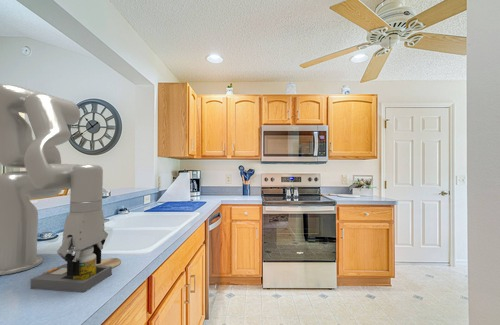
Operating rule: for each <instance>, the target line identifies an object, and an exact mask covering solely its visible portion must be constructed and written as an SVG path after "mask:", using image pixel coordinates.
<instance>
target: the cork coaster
mask: <svg viewBox="0 0 500 325" xmlns="http://www.w3.org/2000/svg"><path fill="white" fill-rule="evenodd" d="M121 263H122V259H120V258H118V257H117V258H116V257H108V258H103V259H102V258H101V263H100V264H96V265H97V266H112V269H114V268H116V267H118V266H120V265H121Z"/></svg>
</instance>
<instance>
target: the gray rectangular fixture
mask: <svg viewBox="0 0 500 325" xmlns="http://www.w3.org/2000/svg"><path fill="white" fill-rule="evenodd" d="M112 270H113V268H112V266H97V265H96V274H95V275H94V276H92V277H90V278H89V279H87V280H74V279H73V276H68V275H67V263H63V264H61V265H59V266H57V267H53V268H51V269H49V270H47V271H46V272H44V273H41V274H39V275H37V276H34V277H32V278H30V289H35V290H49V291H62V292H75V293H85V292H86V291H88V290H90V289H91V288H93V287H95V286H97V285H98V284H99V283H101V282H102V281H103V280H106V279H107V278H108V277H110V276H112V273H113V271H112Z"/></svg>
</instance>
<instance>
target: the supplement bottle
mask: <svg viewBox="0 0 500 325" xmlns="http://www.w3.org/2000/svg"><path fill="white" fill-rule="evenodd" d="M93 251H94V247H93V246H90V247H87V248H85V249H82V250H81V252H80V255H79V257H78V260H79V261H80V267H79V275H78V276H73V279H74V280H87V279H89V278H90V277H92V276H94V275H95V274H96V254H94V253H93Z"/></svg>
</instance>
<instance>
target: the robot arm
mask: <svg viewBox="0 0 500 325" xmlns="http://www.w3.org/2000/svg"><path fill="white" fill-rule="evenodd" d="M20 113H22V114H26V115H27V118H28V120H29V122H30V124H29V123H28V121H27V120H26V119H25V118H23V117H22V115H20ZM80 118H81V110H80V109H79V106H78V105H77V104H76V103H75V102H74V101H72V100H67V99H64V98H60V97H58V96H54V95H51V94H47V93H43V92H40V91H37V90H33V89H30V88H26V87H22V86H18V85H14V84H9V83H0V164H1V165H2V166H3V167H7V168H13V169H15V168H16V169H25V170H21V171H19V170H17V171H16V170H15V171H8V172H3V173H1V174H0V276H5V275H10V274H16V273H20V272H23V271H27V270H30V269H33V268H34V267H38V266H39V265H40V264H43V260H44V258H43V257H42V256H37V255H38V254H37V253H38V230H39V227H38V224H39V223H38V222H39V221H38V220H39V212H38V208H37V207H36V206H35V205H34V203H32V201H31V200H32V199H33V200H34V199H41V198H42V199H43V198H51V197H56V196H57V195H59V194H60V193H62V191H63V190H70V192H69V194H70V195H69V196H70V198H69V199H70V200H69V201H70V202H69V213H68V214H66V217H65V222H64V226H63V231H62V240H61V241H62V243H61V246H59V248H58V249H57V251H56V254H58V256H60V257H61V259H63V260H64V262H67V263H66V264H67V275H68V276H78V275H79V267H80V261H79V260H78V257H79V255H80V252H81V250H82V249H85V248H87V247H90V246H93V247H94V251H93V253H94V254H96V264H100V263H101V260H102V250H103V249H104V244H105V242H106V240H107V238H108V236H109V233H108V232H107V231H105V217H104V212H103V180H104V177H103V176H104V174H103V173H104V170H103V167H102V166H101V165H99V164H98V165H97V164H69V163H62V158H61V152H60V150H59V149H58V147H57V146H59V145H62V144H64V143H67V142H68V141H69V140H70V139H71V136H72V135H71V130H70V129H69V126H70V125H76V124H77V123H78V122H79V120H80ZM68 125H69V126H68ZM33 134H34V136H35V139H34V138H33ZM73 253H74V254H73Z"/></svg>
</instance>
